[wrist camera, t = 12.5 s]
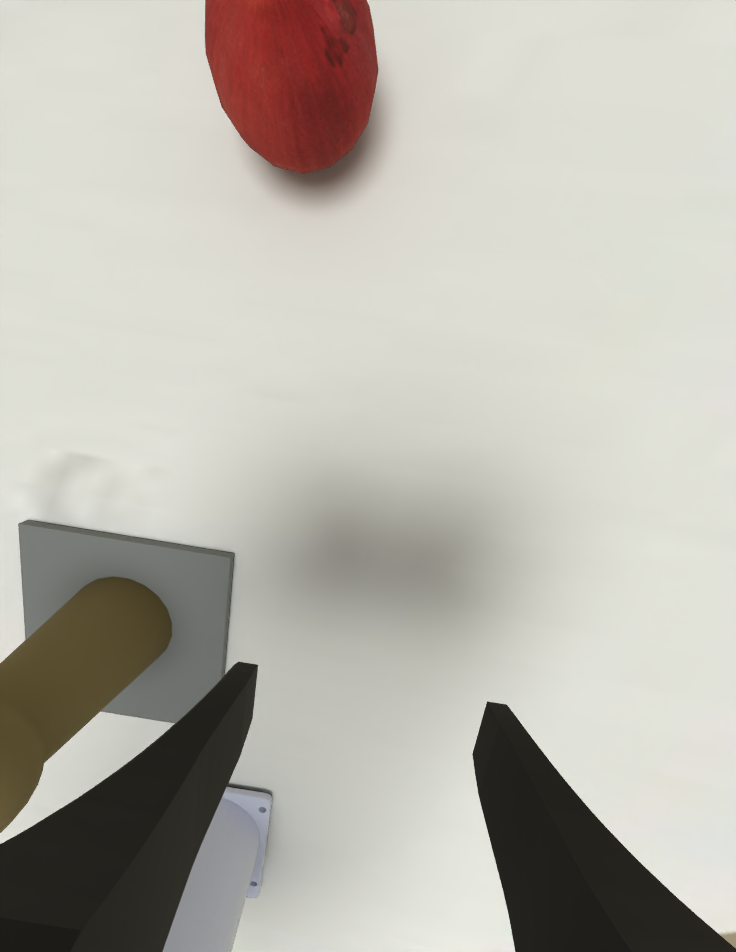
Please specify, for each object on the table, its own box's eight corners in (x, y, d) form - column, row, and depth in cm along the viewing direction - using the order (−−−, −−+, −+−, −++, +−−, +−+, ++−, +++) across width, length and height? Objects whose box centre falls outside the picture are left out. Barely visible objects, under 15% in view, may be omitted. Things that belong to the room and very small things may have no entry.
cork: (55, 632, 23) (-225, 846, 12) (97, 557, 22) (-175, 723, 11) (144, 683, 24) (-50, 927, 13) (190, 612, 22) (17, 819, 12)
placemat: (220, 721, 25) (216, 729, 24) (37, 692, 25) (29, 699, 24) (234, 553, 22) (230, 558, 22) (28, 519, 22) (18, 523, 22)
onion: (327, 20, 16) (278, -312, 9) (403, 149, 17) (421, -43, 10) (222, 116, 17) (92, -103, 9) (300, 233, 18) (240, 122, 10)
